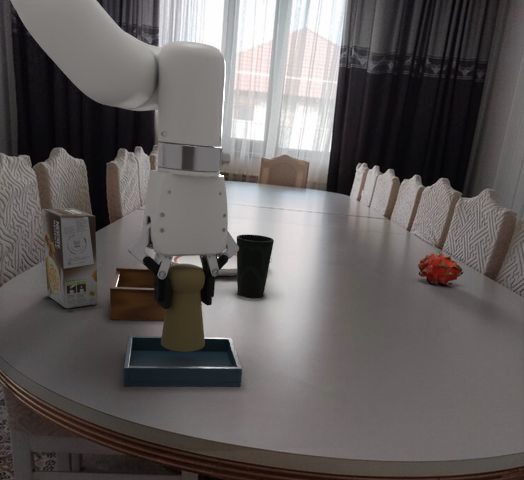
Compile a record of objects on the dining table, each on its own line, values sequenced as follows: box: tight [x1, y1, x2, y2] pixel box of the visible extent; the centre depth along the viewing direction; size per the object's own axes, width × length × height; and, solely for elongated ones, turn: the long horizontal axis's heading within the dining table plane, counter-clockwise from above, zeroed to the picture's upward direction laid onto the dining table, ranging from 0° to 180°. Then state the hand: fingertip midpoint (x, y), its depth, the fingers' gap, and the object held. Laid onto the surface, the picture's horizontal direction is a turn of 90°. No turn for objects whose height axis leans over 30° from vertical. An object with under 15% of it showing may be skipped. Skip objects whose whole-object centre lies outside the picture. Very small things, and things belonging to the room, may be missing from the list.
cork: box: [161, 263, 205, 352], centre depth 70 cm, size 6×6×11 cm
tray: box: [123, 335, 243, 387], centre depth 73 cm, size 15×11×3 cm
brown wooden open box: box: [109, 266, 166, 322], centre depth 96 cm, size 15×15×6 cm
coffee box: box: [41, 207, 99, 309], centre depth 93 cm, size 9×6×16 cm
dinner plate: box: [171, 253, 272, 277], centre depth 130 cm, size 28×27×3 cm
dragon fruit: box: [417, 252, 464, 286], centre depth 135 cm, size 8×8×12 cm
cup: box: [236, 234, 275, 299], centre depth 108 cm, size 8×8×12 cm
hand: (184, 302), depth 69 cm, fingers closed on cork, 5 cm apart
